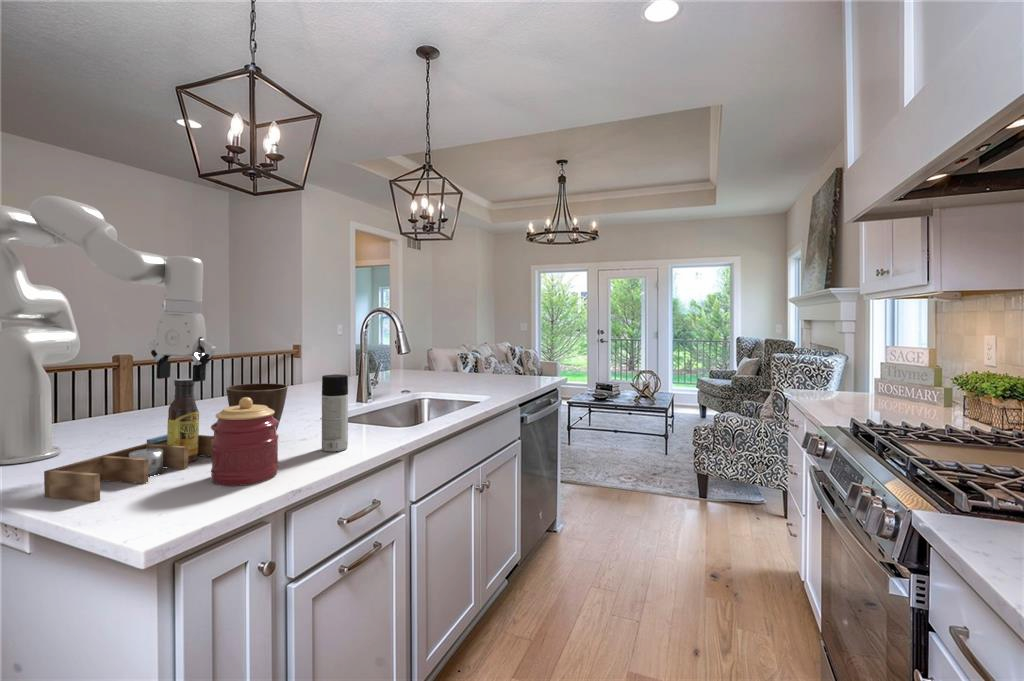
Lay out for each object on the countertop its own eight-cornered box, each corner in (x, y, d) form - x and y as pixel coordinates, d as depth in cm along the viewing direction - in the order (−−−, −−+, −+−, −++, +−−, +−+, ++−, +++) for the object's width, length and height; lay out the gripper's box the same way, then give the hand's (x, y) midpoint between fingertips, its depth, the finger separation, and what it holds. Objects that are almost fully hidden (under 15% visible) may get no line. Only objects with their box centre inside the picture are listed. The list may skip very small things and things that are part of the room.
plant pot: (284, 435, 142) (284, 382, 141) (290, 447, 129) (290, 388, 128) (226, 440, 134) (226, 384, 133) (226, 454, 121) (226, 391, 120)
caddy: (43, 497, 90) (43, 467, 90) (180, 453, 121) (180, 430, 121) (94, 501, 88) (94, 471, 88) (220, 456, 119) (220, 433, 119)
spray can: (353, 448, 129) (353, 375, 128) (331, 454, 123) (332, 377, 122) (337, 444, 132) (337, 373, 132) (315, 449, 127) (316, 375, 126)
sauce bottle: (182, 466, 111) (181, 381, 110) (160, 463, 112) (159, 380, 111) (205, 458, 117) (205, 378, 116) (184, 456, 118) (184, 377, 117)
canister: (216, 471, 108) (216, 394, 107) (280, 465, 113) (280, 391, 112) (205, 490, 96) (205, 403, 95) (276, 483, 101) (277, 400, 100)
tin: (121, 477, 102) (121, 454, 102) (147, 469, 108) (146, 447, 108) (145, 479, 101) (145, 456, 101) (170, 471, 107) (170, 449, 107)
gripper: (137, 305, 111) (135, 378, 111) (202, 309, 108) (200, 384, 109) (165, 307, 118) (163, 375, 119) (227, 310, 115) (225, 380, 116)
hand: (181, 379), depth 114 cm, fingers open, 9 cm apart
